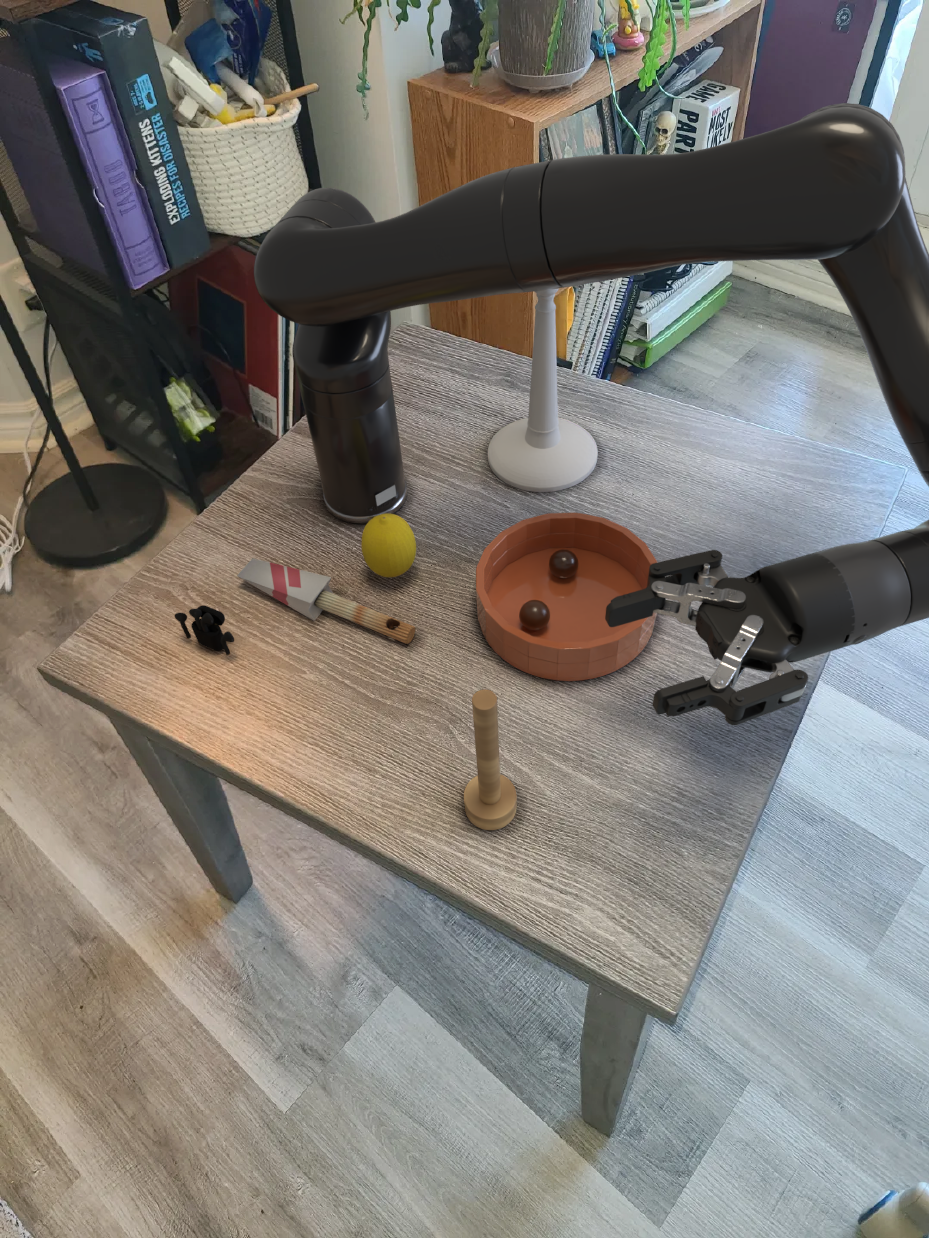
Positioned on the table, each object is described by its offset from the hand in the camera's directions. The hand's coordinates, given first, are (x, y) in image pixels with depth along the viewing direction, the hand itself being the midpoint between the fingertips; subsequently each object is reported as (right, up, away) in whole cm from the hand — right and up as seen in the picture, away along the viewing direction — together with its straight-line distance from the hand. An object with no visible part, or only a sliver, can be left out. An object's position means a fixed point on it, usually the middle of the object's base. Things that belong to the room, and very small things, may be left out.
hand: (630, 658), depth 66 cm
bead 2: (-2, +8, +25) cm, 27 cm away
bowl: (-2, +4, +24) cm, 24 cm away
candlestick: (-3, +22, +39) cm, 45 cm away
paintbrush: (-26, +4, +26) cm, 37 cm away
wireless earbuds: (-37, 0, +24) cm, 44 cm away
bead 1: (-5, +3, +21) cm, 22 cm away
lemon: (-20, +8, +29) cm, 35 cm away
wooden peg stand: (-10, -13, +10) cm, 19 cm away
